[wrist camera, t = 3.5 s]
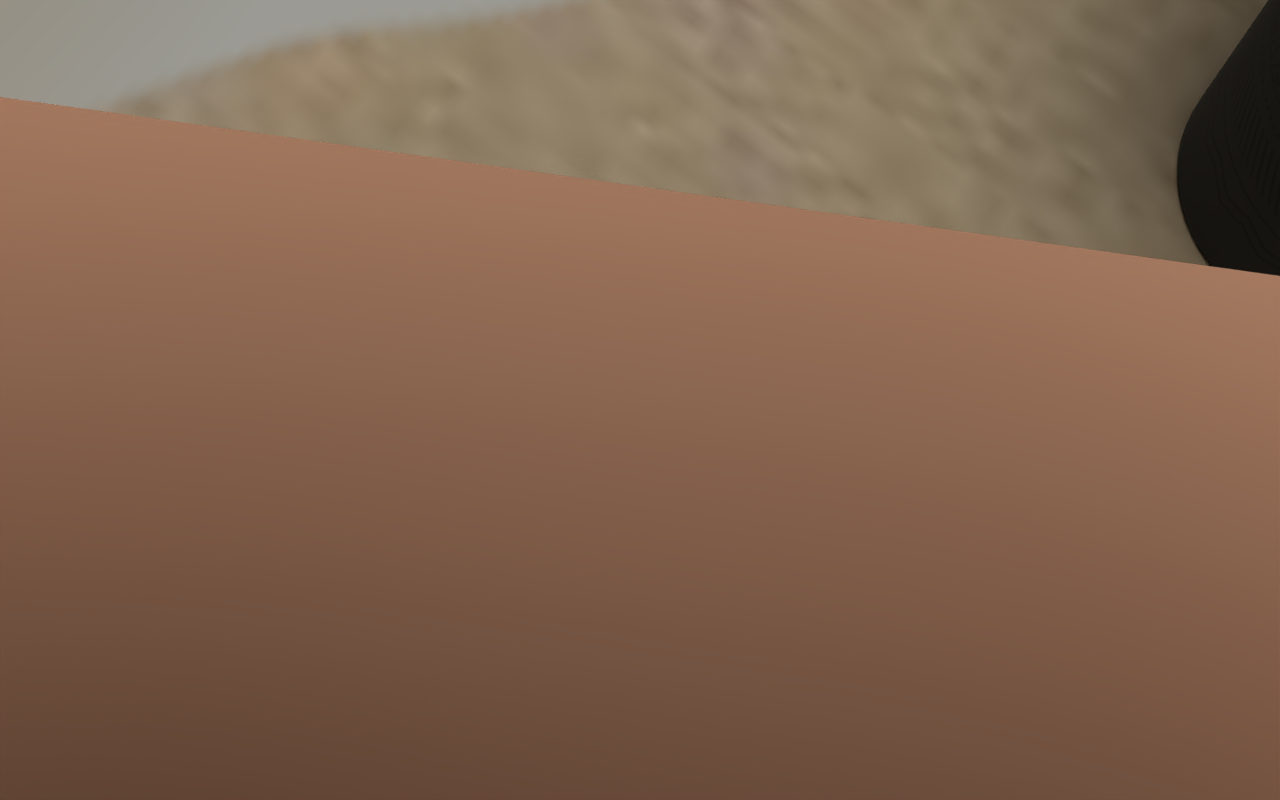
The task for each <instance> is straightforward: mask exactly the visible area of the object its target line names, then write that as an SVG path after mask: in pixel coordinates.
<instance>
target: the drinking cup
mask: <svg viewBox="0 0 1280 800" xmlns="http://www.w3.org/2000/svg"><path fill="white" fill-rule="evenodd" d="M1178 181H1179V192H1180V197H1181V202H1182V207H1183V210H1184V214H1185V217H1186V220H1187V223H1188V225H1189V228H1190V230H1191V232H1192V235H1193V237H1194V239H1195V240H1196V242H1197V244H1198V246H1199V248H1200V250H1201V251H1202V253H1203V254H1204V256H1205V257H1206V259H1207V260H1208V262H1209V263H1210V264H1211V265H1212V267H1219V268H1226V269H1233V270H1241V271H1248V272H1255V273H1262V274H1269V275H1276V276H1280V0H1268V2H1267V3H1266V5H1265V6H1264V8H1263V9H1262V11H1261V12H1260V13H1259V15H1258V16H1257V18H1256V19H1255V21H1254V22H1253V24H1252V25H1251V27H1250V28H1249V29H1248V31H1247V32H1246V34H1245V35H1244V37H1243V38H1242V40H1241V41H1240V43H1239V44H1238V45H1237V47H1236V48H1235V50H1234V51H1233V53H1232V54H1231V56H1230V57H1229V58H1228V60H1227V61H1226V63H1225V64H1224V66H1223V67H1222V69H1221V70H1220V72H1219V73H1218V74H1217V76H1216V77H1215V79H1214V80H1213V82H1212V83H1211V85H1210V86H1209V88H1208V89H1207V90H1206V92H1205V93H1204V95H1203V96H1202V98H1201V99H1200V101H1199V103H1198V104H1197V106H1196V108H1195V109H1194V111H1193V113H1192V115H1191V117H1190V119H1189V121H1188V123H1187V126H1186V129H1185V132H1184V135H1183V138H1182V143H1181V147H1180V152H1179V161H1178Z"/></svg>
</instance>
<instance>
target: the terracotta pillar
mask: <svg viewBox="0 0 1280 800" xmlns="http://www.w3.org/2000/svg"><path fill="white" fill-rule="evenodd" d="M0 800H1280V276H1276V275H1269V274H1262V273H1255V272H1248V271H1241V270H1233V269H1226V268H1219V267H1212V266H1205V265H1198V264H1190V263H1183V262H1176V261H1169V260H1162V259H1155V258H1148V257H1140V256H1133V255H1126V254H1119V253H1112V252H1105V251H1097V250H1090V249H1083V248H1076V247H1069V246H1062V245H1055V244H1047V243H1040V242H1033V241H1026V240H1019V239H1012V238H1004V237H997V236H990V235H983V234H976V233H969V232H962V231H954V230H947V229H940V228H933V227H926V226H919V225H911V224H904V223H897V222H890V221H883V220H876V219H869V218H861V217H854V216H847V215H840V214H833V213H826V212H818V211H811V210H804V209H797V208H790V207H783V206H776V205H768V204H761V203H754V202H747V201H740V200H733V199H725V198H718V197H711V196H704V195H697V194H690V193H682V192H675V191H668V190H661V189H654V188H647V187H640V186H632V185H625V184H618V183H611V182H604V181H597V180H589V179H582V178H575V177H568V176H561V175H554V174H547V173H539V172H532V171H525V170H518V169H511V168H504V167H496V166H489V165H482V164H475V163H468V162H461V161H454V160H446V159H439V158H432V157H425V156H418V155H411V154H403V153H396V152H389V151H382V150H375V149H368V148H361V147H353V146H346V145H339V144H332V143H325V142H318V141H310V140H303V139H296V138H289V137H282V136H275V135H268V134H260V133H253V132H246V131H239V130H232V129H225V128H217V127H210V126H203V125H196V124H189V123H182V122H175V121H167V120H160V119H153V118H146V117H139V116H132V115H124V114H117V113H110V112H103V111H96V110H89V109H82V108H74V107H67V106H60V105H53V104H46V103H39V102H31V101H24V100H17V99H10V98H3V97H0Z"/></svg>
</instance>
